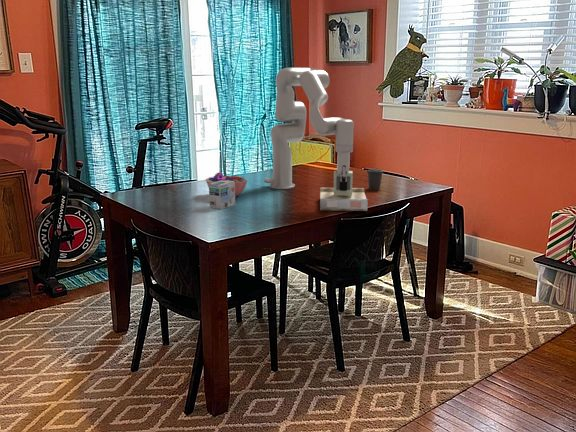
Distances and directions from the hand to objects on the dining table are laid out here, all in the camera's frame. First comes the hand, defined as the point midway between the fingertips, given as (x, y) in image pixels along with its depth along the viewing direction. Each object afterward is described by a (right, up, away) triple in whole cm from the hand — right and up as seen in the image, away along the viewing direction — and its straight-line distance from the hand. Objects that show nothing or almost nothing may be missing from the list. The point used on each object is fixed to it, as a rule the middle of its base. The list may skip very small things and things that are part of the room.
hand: (342, 188), depth 255 cm
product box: (0, -2, +1) cm, 3 cm away
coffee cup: (+19, +1, +33) cm, 38 cm away
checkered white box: (0, -7, +2) cm, 7 cm away
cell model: (-53, -3, +17) cm, 56 cm away
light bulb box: (-53, -8, 0) cm, 54 cm away
